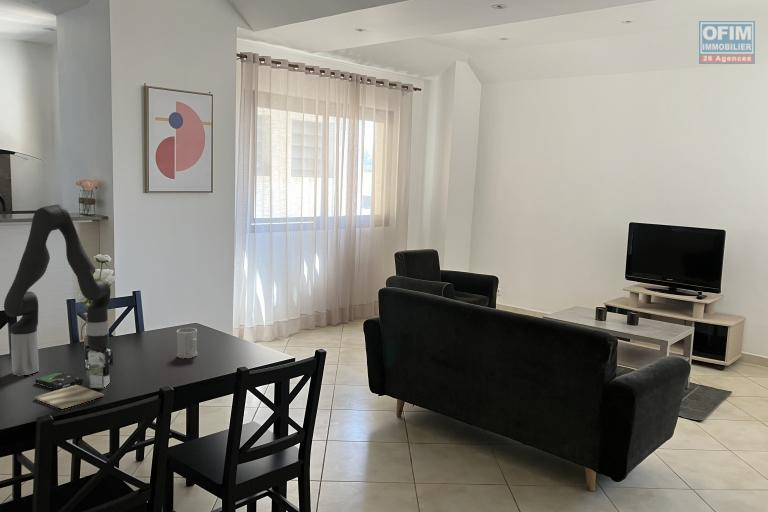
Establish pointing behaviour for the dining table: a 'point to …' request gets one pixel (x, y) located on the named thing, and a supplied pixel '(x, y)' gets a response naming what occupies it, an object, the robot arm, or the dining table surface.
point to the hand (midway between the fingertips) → (99, 373)
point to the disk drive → (59, 380)
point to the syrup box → (96, 370)
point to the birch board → (69, 396)
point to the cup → (187, 342)
